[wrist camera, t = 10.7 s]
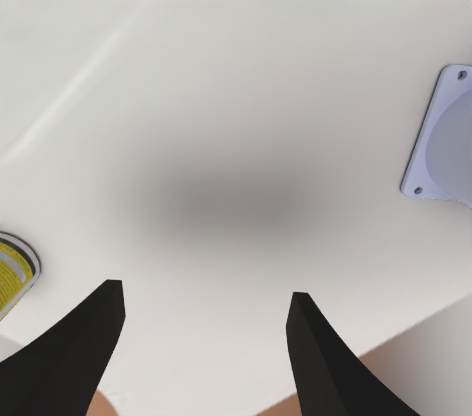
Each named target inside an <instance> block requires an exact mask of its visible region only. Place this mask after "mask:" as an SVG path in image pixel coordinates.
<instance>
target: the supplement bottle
mask: <svg viewBox="0 0 472 416" xmlns="http://www.w3.org/2000/svg"><path fill="white" fill-rule="evenodd" d="M39 272H40V267H39V263H38V260H37V258H36V256H35V254H34V253H33V251H32V250H31V249H30V248H29V247H28V246H27V245H25V244H24V243H23V242H21V241H20V240H18V239H16V238H14V237H12V236H9V235H6V234H2V233H0V321H1V320H2V319H3V318H4V317H5V316H6V315H7V314H8V312H9V311H10V310H11V309H12V308H13V307H14V306H15V305H16V304H17V302H18V301H19V300H20V299H21V298H22V297H23V296H24V295H25V294H26V292H27V291H28V290H29V289H30V288H31V287H32V286H33V284H34V283H35V282H36V280H37V279H38V276H39Z"/></svg>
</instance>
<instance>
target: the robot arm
mask: <svg viewBox="0 0 472 416" xmlns="http://www.w3.org/2000/svg"><path fill="white" fill-rule="evenodd" d="M460 71H462V72H463V74H462V77H461V78H460V79H459V80H458V78H457V76H458V74H459V72H460ZM418 187H419V190H418V191H417V192H414V190H415V189H416V188H418ZM401 193H402V194H404V195H405V196H407V197H416V198H429V199H441V200H454V201H460V202H462V203H463V204H465V205H466V206H468V207H469V208H471V209H472V66H465V65H449V66H447V67H445V68H444V69H443V71H442V73H441V75H440V78H439V81H438V84H437V86H436V89H435V92H434V95H433V98H432V101H431V104H430V106H429V109H428V112H427V115H426V118H425V121H424V123H423V126H422V129H421V132H420V135H419V138H418V141H417V143H416V146H415V149H414V152H413V155H412V158H411V161H410V163H409V166H408V169H407V172H406V175H405V178H404V180H403V183H402V186H401ZM125 317H126V316H125V306H124V297H123V287H122V280H108V279H107V280H106V281H104V282H103V283H102V284H101V285H100V286H99V287H98V288H97V289H96V290H94V291H93V292H92V293H91V294H90V295H89V296H88V297H87V298H86V299H84V300H83V301H82V302H81V303H80V304H79V305H78V306H76V307H75V308H74V309H73V310H72V311H71V312H70V313H68V314H67V315H66V316H65V317H64V318H62V319H61V320H60V321H59V322H57V323H56V324H55V325H54V326H52V327H51V328H50V329H49V330H47V331H46V332H45V333H43V334H42V335H41V336H39V337H38V338H37V339H35V340H34V341H32V342H31V343H30V344H28V345H27V346H25V347H24V348H22V349H21V350H19V351H18V352H16V353H15V354H13V355H12V356H10V357H8V358H7V359H5V360H3V361H2V362H0V416H86V414H87V410H88V408H89V405H90V403H91V400H92V398H93V395H94V393H95V391H96V389H97V386H98V384H99V382H100V380H101V378H102V375H103V373H104V371H105V369H106V367H107V364H108V362H109V360H110V358H111V355H112V353H113V351H114V349H115V347H116V344H117V342H118V339H119V336H120V333H121V330H122V327H123V324H124V320H125ZM286 335H287V344H288V352H289V357H290V362H291V366H292V371H293V375H294V380H295V384H296V389H297V393H298V398H299V402H300V407H301V413H302V416H420V415H419V414H418V413H416V412H415V411H414V410H413V409H411V408H410V407H409V406H408V405H407V404H405V403H404V402H403V401H402V400H401V399H399V398H398V397H397V396H396V395H395V394H394V393H393V392H392V391H390V390H389V389H388V388H387V387H386V386H385V385H384V384H383V383H382V382H381V381H379V380H378V379H377V378H376V377H375V376H374V375H373V374H372V373H371V372H370V371H369V370H368V369H367V368H366V367H365V365H363V364H362V362H361V361H360V360H359V359H358V358H357V357H356V356H355V355H354V354H353V352H352V351H351V350H350V349H349V348H348V346H347V345H346V344H345V343H344V342H343V340H342V339H341V338H340V337H339V335H338V334H337V333H336V331H335V330H334V329H333V328H332V326H331V325H330V324H329V322H328V321H327V320H326V318H325V317H324V315H323V314H322V313H321V311H320V310H319V308H318V307H317V305H316V304H315V302H314V301H313V299H312V298H311V297H310V295H309V294H308V293H304V292H293V296H292V300H291V305H290V309H289V314H288V319H287V323H286Z"/></svg>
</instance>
